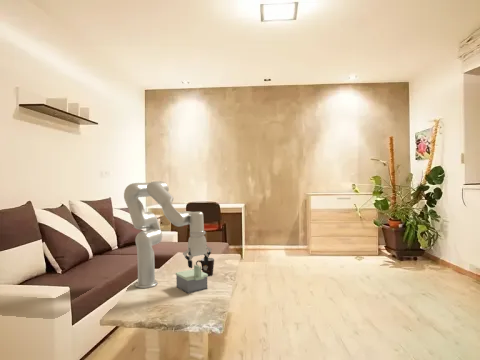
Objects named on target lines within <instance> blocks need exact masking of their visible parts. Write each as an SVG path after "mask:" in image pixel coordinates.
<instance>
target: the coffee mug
mask: <svg viewBox="0 0 480 360" xmlns="http://www.w3.org/2000/svg"><path fill="white" fill-rule="evenodd" d="M198 262H199V263H200V264H201V272H204V273H206V274H208V277H212V276H213V275H214V267H215V258H214V257H208V265H206V264H204V257H203V258H201V259H200V260H197V261H196V262H195V265H198Z"/></svg>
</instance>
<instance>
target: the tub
mask: <svg viewBox="0 0 480 360" xmlns="http://www.w3.org/2000/svg"><path fill="white" fill-rule="evenodd" d="M175 275H176V274H175ZM175 280H176V288H178V289H179V290H181V291H183V292H184V293H186V294H188V295H189V294H192V293H196V292H201V291H204V290H208V277H204V279H201V280H189V281H187V280H185V279H183V278H181V277H179V276H177V275H176V279H175Z"/></svg>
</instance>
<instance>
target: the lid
mask: <svg viewBox="0 0 480 360" xmlns="http://www.w3.org/2000/svg"><path fill="white" fill-rule="evenodd" d="M201 269H202V265H201V266H200V265H198V264H197V265H196V264H194V265H193V269H192V268H191V269H188V270H183V271H177V272H175V275H177V276H179V277H181V278H183V279H185V280H187V281H189V280H201V279H204V277H207V278H208V277H209V276H208V274H206V273H204V272H202V270H201Z"/></svg>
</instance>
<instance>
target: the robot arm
mask: <svg viewBox="0 0 480 360" xmlns="http://www.w3.org/2000/svg"><path fill="white" fill-rule="evenodd" d="M169 191H170V189H169V185H168V184H167V183H166V182H165V181H160V180H159V181H151V182H135V183H134V182H133V183H130V184H128V185H127V186H126V187H125V189H124V192H123V199H124V202H125V204H126V206H127V209H128V212H129V213H128V214H129V215H130V219H131V223H132V225H133V227H134V229H135V230H142V231H140V232H138V233H137V235H136V236H135V239H134V241H135V246H136V253H137V254H136V257H137V258H136V259H137V282H135V283H134V285H135V287H136V288H137V289H149V288H153V287H156V286H157V285H158V284H159V283H158V280H156V279H155V278H156V277H155V276H156V275H155V274H156V271H155V266H156V265H155V263H156V262H155V251H154V249H153V246H155V245H158V244H160V243H161V242H162V239H163V233H162V229H161V227H160V223H159V220H158V218H157V216H156V214H155V213H154V212H152V211H145V208H144V205H143V202H141V200H140V199H139V198H145V197H146V198H147V197H151V198H152V199H153V200H154V201H155V202H156V203H157V204H158V205H159V206H160V207H161V211H162V212H163V215H164V217H165V218H166V219H167V221H169V222H170V223H171V224H172V225H173V226H175V227H184V226H187V225H189V232H190V233H189V235H190V237H188V241H187V249H186V250H185V251H184V252H183V253H182V255H183V257H184V258H185V260H187V266H188V268H189V269H192V268H193V260H192V259H193V258H194V257H198V256H203V258H204V264H206V265H208V258H210V255H211V253H212V250H213V248H212V247H209V246H208V244H207V238H206V236H205V235H206V234H207V231H205V225H204V223H205V222H204V213H203V211H180V212H179V211H178V210H177V209H176V208H175V207H174V206H173V204H172V203H173V201H174V196H173V195H172V194H171V193H170V192H169Z"/></svg>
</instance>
